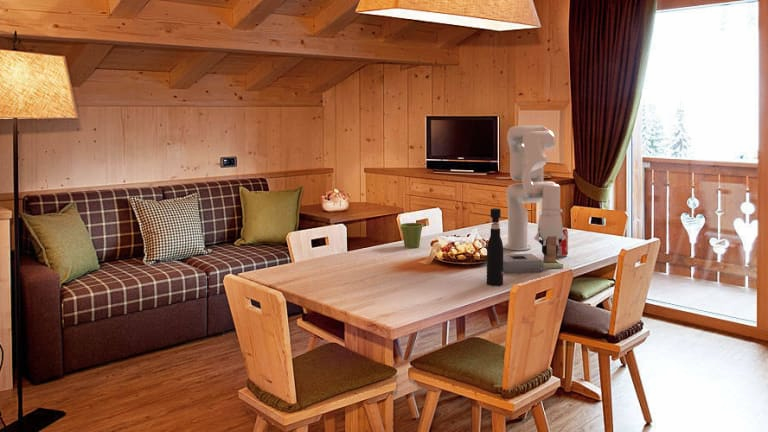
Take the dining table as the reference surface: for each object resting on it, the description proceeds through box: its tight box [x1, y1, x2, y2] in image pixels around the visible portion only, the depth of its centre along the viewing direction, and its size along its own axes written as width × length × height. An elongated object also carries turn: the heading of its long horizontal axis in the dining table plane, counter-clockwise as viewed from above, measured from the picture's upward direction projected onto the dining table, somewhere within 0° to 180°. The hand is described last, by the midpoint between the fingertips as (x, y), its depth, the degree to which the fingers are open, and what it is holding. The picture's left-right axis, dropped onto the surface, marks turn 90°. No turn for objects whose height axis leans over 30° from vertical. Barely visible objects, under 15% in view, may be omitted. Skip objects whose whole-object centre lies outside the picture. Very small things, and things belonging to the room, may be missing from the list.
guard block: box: [503, 253, 543, 274], centre depth 323 cm, size 14×16×5 cm
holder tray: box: [541, 259, 564, 270], centre depth 328 cm, size 9×9×2 cm
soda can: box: [556, 226, 569, 258], centre depth 348 cm, size 7×7×13 cm
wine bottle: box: [486, 207, 504, 287], centre depth 296 cm, size 6×6×30 cm
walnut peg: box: [543, 236, 557, 264], centre depth 327 cm, size 4×4×16 cm
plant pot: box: [399, 222, 424, 249], centre depth 373 cm, size 12×12×11 cm
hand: (549, 253), depth 328 cm, fingers closed on walnut peg, 3 cm apart
